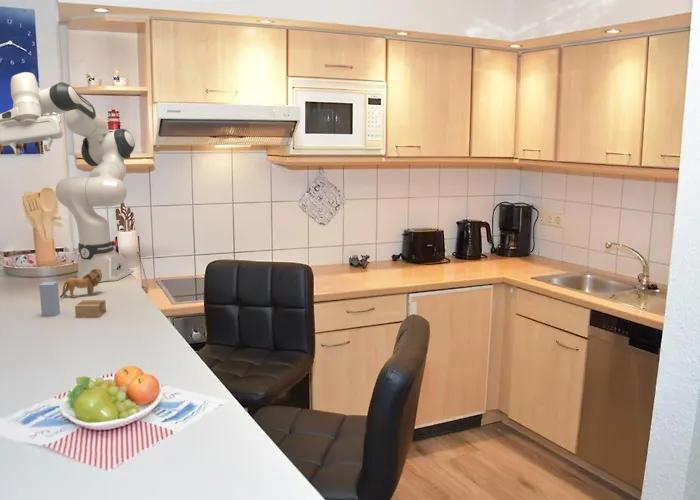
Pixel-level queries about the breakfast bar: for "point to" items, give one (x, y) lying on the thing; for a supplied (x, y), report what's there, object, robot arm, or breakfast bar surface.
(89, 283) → the lion figurine
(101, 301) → the base brick
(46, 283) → the tall block
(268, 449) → the breakfast bar surface
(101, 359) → the breakfast bar surface
